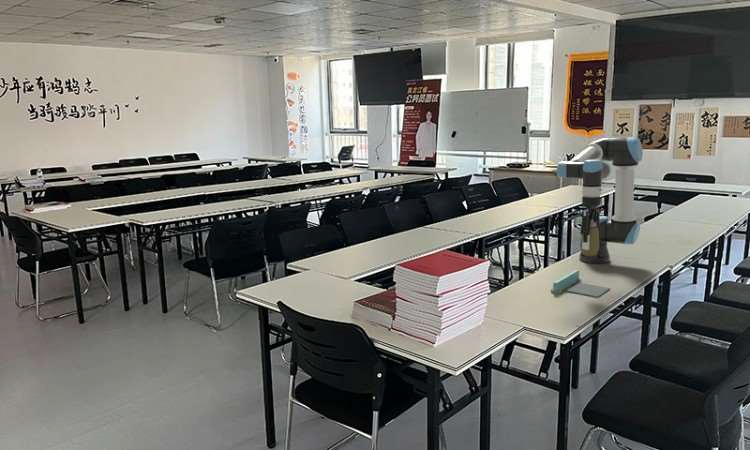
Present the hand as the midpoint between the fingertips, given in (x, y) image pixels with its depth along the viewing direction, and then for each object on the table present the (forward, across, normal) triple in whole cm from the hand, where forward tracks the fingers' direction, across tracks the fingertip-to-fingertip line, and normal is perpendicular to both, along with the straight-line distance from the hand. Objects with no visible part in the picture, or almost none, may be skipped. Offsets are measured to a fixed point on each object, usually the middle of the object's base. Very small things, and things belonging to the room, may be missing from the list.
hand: (589, 247), depth 243 cm
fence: (+20, 0, +10) cm, 22 cm away
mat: (+20, 0, 0) cm, 20 cm away
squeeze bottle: (+3, 0, 0) cm, 3 cm away
